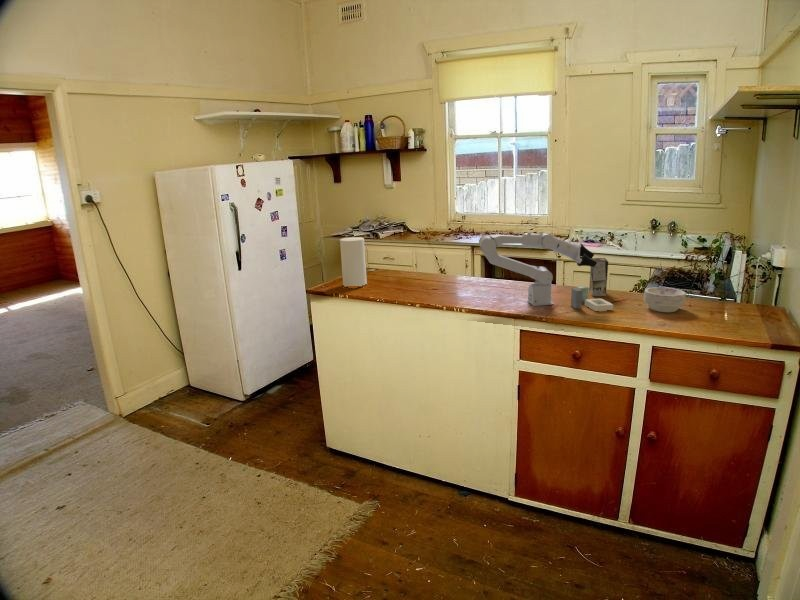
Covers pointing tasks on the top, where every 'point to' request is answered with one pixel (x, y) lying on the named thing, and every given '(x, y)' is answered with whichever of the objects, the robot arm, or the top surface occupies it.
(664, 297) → the light grey bowl
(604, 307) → the slot plate
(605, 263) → the coffee box
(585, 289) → the grey upright block
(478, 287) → the top surface
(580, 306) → the bar
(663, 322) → the top surface
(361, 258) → the cylinder
